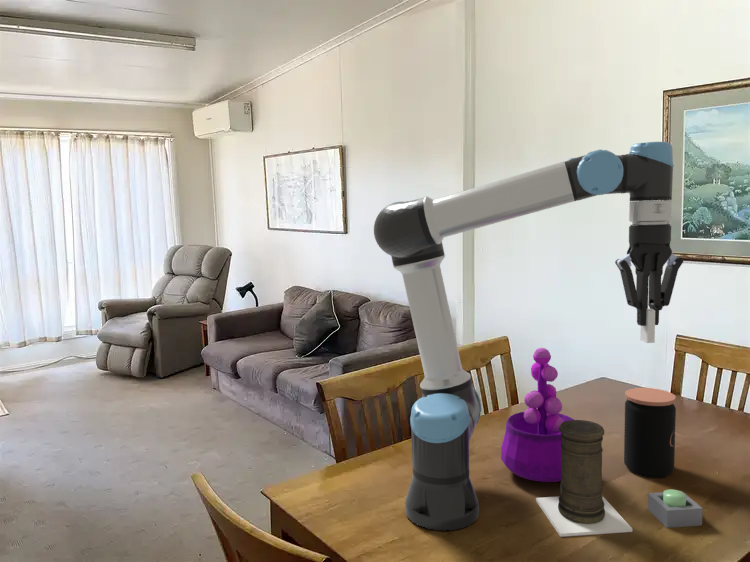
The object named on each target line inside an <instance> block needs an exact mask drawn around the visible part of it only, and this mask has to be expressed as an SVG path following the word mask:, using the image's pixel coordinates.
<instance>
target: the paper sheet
mask: <svg viewBox="0 0 750 562" xmlns="http://www.w3.org/2000/svg"><path fill="white" fill-rule="evenodd" d="M559 496H560V495H559ZM559 496H547V497H545V496H542V497H536V498H535V502H536V504H537V505H538V506H539V507H540V508H541V511H542V512H543V513H544V515H545V516H546V518H547V519H548V521H549V522H550V523H551V525H552V526H553V528H554V530H555V531H556V532H557V534H558V536H559V537H574V536H575V537H576V536H577V537H578V536H592V535H603V534H619V533H632V532H633V527H631V525H629V523H628V522H627V521H626V520H625V518H623V517H622V516H621V515H620V513H619V512H618V511H617V510H616V509H615V507H613V506H612V505H611V503H609V502H608V500H607V499H606V498H605V497H604V495H602V500H603V502H604V509H605V516H604V518H603V520H602V521H600V522H598V523H594V524H584V523H577V522H574V521H571V520H569V519H567V518H565V517H563V516H562V515H561V514H560V512H559V509H558V504H559Z"/></svg>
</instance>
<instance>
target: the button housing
mask: <svg viewBox="0 0 750 562" xmlns="http://www.w3.org/2000/svg"><path fill="white" fill-rule="evenodd" d="M680 491H681V492H683V490H680ZM663 492H664V491H663ZM663 492H662V491H661V492H648V493H647V511H649V512H650V513H651V514H652V515H653V516H654V517H655V518H656V519H657V520H658V521H659V522H660V523H661V524H662V525H663V526H664V527H665V528H666V529H669V528H670V529H671V528H682V527H683V528H684V527H685V528H686V527H698V526H699V527H700V526H702V525H703V507H702V506H700V505H699V503H697V502H696V501H695V500H693V499H692V498H691V497H690V496H689V495H687V493H685V492H683V493H684V494H685V495H686V506H678V507H669V506H668V505H667V504H666V503H665V502H664V501H663Z"/></svg>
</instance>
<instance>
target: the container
mask: <svg viewBox="0 0 750 562" xmlns="http://www.w3.org/2000/svg"><path fill="white" fill-rule="evenodd" d="M559 430H560V432H561V438H562V443H561V481H560V484H559V486H560V487H559V488H560V494H559V504H558V509H559V512H560V514H561V515H562V516H563V517H565V518H567V519H569V520H571V521H574V522H577V523H584V524H594V523H598V522H600V521H602V520H603V518H604V516H605V509H604V502H603V500H602V496H603V492H604V490H603V480H602V479H603V471H602V470H603V450H604V449H603V443H602V442H603V440H604V437H603V436H605V429H604V427H603V426H602V425H601V424H599V423H597V422H594V421H589V420H584V419H574V420H569V421H565V422H563V423H561V425H560V427H559Z"/></svg>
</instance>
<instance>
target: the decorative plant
mask: <svg viewBox="0 0 750 562" xmlns="http://www.w3.org/2000/svg"><path fill="white" fill-rule="evenodd" d="M532 357H533V360H534V363H533V364H532V365H531V367H530V374H531V376H532V379H534V380H535V381H536V382H537V390H532V391H530V392H527V393H526V394H525V396H524V401H523V402H524V404H525V405H526V407H528V408H527V409H526V410H525V411H522V412H517V413H515V414H512V415H510V416H509V417H507V421H506V424H505V431H504V436H503V439H502V443H501V452H500V460H501V461H502V463H503V464H504V465H505V467H507V469H508V470H509V471H510V473H513V474H515V475H516V476H517V477H521V478H523V479H527V480H530V481H536V482H542V483H543V482H544V483H545V482H546V483H556V482H561V443H562V438H561V432H560V430H559V427H560V425H561V423H563V422H565V421H569V420H575V419H574V418H573V417H570V416H568V415H565V414H562V413H560V412H562V410H563V403H562V402H561V400H560V399H559V398H558V397H557V389H556V387H555V386H554V385H553V384H551V383H552V382H554V381H555V380H556V379H557V378H558V376H559V373H558V370H557V369H556V368H555V367H554V366H552V365H550V364H549V363H550V361H551V360H552V359H551V357H552V355H551V352H550V350H548V349H547V348H545V347H539V348H537V349H535V351H534V353H533V355H532ZM548 382H550V383H548Z"/></svg>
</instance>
